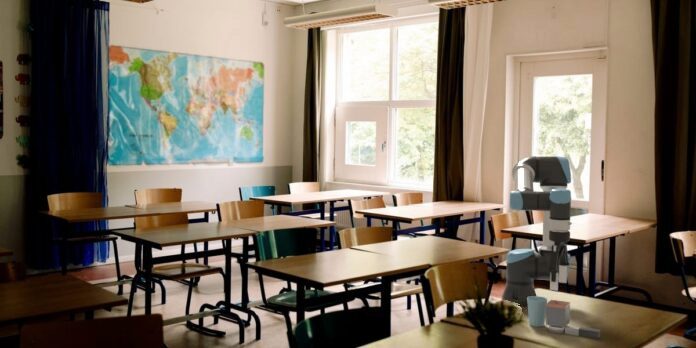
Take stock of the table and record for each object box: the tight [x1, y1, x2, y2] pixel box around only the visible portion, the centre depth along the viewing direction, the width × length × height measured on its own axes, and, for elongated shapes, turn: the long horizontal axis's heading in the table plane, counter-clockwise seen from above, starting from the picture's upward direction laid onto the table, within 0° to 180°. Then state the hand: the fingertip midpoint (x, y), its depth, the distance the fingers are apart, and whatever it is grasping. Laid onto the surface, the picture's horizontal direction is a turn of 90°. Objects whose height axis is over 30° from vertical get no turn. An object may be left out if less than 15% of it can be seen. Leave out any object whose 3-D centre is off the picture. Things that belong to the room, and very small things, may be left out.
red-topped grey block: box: [545, 299, 571, 327], centre depth 255 cm, size 7×7×8 cm
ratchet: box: [548, 325, 601, 340], centre depth 253 cm, size 18×6×8 cm, turn 59°
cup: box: [527, 295, 548, 328], centre depth 265 cm, size 8×8×10 cm
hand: (558, 286), depth 255 cm, fingers open, 13 cm apart
